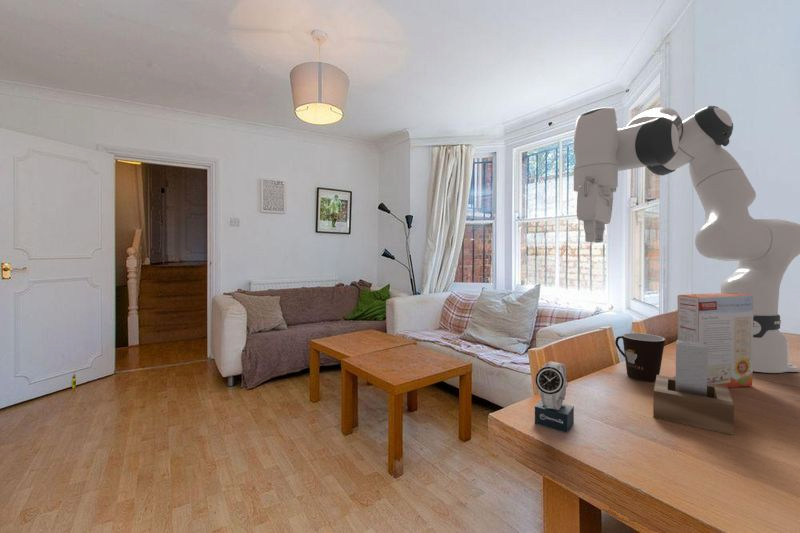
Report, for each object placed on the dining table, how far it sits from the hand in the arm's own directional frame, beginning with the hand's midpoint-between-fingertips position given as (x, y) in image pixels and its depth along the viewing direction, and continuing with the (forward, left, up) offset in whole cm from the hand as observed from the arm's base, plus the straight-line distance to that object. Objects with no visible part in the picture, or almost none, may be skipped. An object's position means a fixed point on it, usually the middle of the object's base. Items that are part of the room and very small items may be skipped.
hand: (594, 242), depth 82 cm
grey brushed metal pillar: (+6, +17, -33) cm, 37 cm away
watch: (+25, -2, -33) cm, 42 cm away
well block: (+6, +17, -33) cm, 38 cm away
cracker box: (-17, +22, -33) cm, 43 cm away
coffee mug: (-14, +8, -33) cm, 37 cm away
